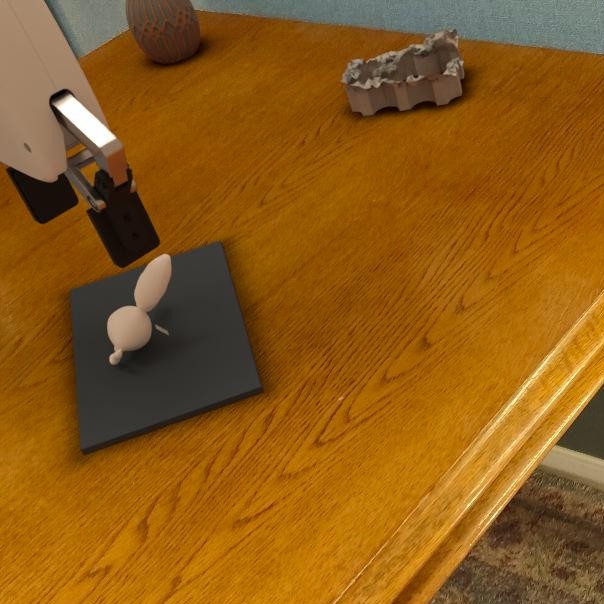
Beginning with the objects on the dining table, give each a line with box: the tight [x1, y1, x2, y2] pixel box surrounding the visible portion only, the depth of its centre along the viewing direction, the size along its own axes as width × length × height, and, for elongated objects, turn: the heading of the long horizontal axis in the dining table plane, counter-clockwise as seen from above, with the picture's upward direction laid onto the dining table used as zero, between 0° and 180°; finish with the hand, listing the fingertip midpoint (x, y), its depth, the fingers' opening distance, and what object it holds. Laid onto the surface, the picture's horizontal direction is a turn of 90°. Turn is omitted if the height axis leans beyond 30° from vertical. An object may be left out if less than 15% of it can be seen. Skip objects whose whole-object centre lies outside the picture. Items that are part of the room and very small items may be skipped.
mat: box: [69, 240, 265, 456], centre depth 71 cm, size 20×12×1 cm, turn 20°
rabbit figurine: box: [107, 253, 171, 365], centre depth 69 cm, size 6×4×8 cm
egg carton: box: [340, 28, 465, 117], centre depth 90 cm, size 11×8×4 cm
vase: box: [124, 0, 201, 65], centre depth 103 cm, size 7×7×9 cm
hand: (97, 233), depth 65 cm, fingers open, 9 cm apart
